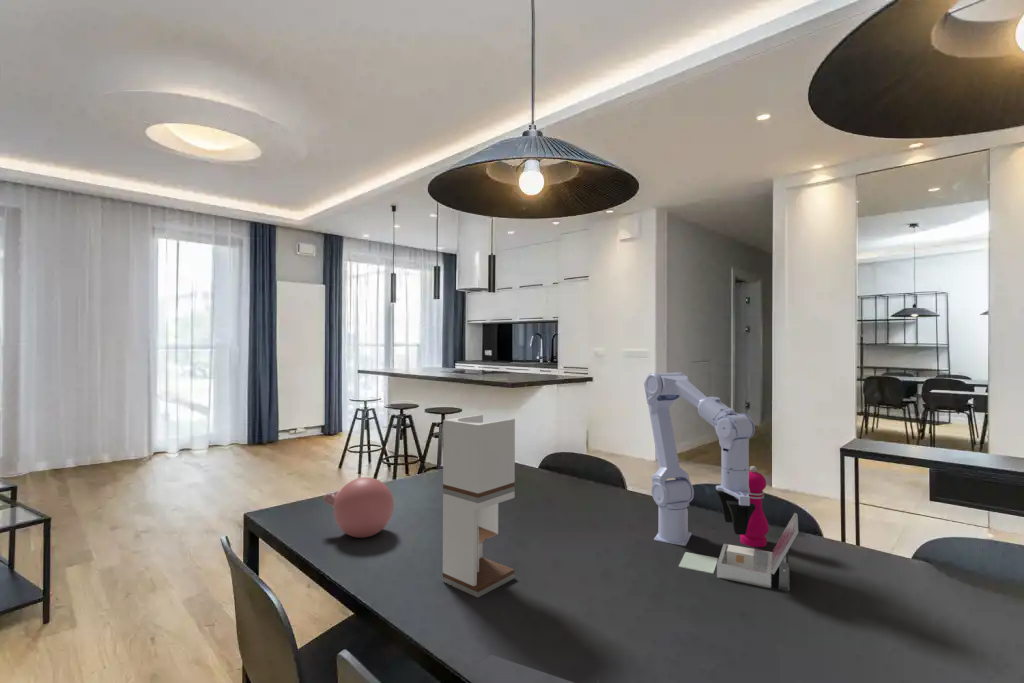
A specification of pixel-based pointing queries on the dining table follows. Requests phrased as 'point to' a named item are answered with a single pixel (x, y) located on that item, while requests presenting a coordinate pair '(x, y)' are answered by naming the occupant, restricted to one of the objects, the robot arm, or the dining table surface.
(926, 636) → the dining table surface
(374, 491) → the round balloon
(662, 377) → the robot arm
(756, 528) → the pepper mill
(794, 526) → the lid
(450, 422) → the display case
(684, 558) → the pad
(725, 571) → the case
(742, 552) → the block
